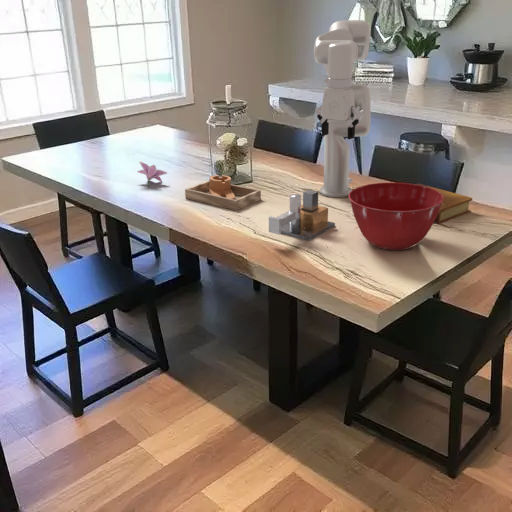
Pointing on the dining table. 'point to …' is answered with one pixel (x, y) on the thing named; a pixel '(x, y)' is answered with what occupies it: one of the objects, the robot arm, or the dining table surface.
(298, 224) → the grey stepped fixture
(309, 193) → the grey rectangular block
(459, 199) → the diary
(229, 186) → the bracket
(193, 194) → the wooden tray
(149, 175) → the lily
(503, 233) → the dining table surface
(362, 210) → the mixing bowl
